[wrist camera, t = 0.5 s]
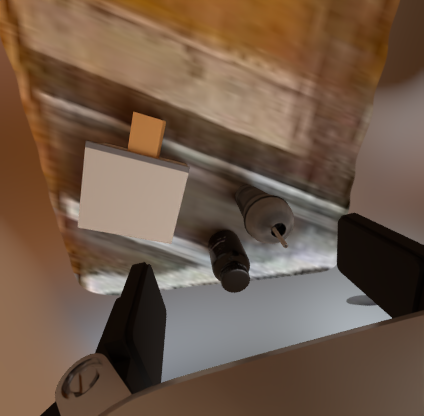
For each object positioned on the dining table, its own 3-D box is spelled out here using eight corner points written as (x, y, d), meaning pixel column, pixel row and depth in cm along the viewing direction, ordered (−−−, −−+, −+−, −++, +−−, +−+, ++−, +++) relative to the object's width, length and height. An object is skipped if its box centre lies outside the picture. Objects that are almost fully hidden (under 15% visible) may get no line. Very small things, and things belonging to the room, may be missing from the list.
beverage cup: (257, 216, 45) (309, 279, 26) (223, 208, 43) (255, 270, 25) (269, 182, 43) (336, 225, 24) (234, 173, 41) (278, 212, 23)
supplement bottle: (212, 226, 44) (223, 259, 33) (243, 233, 46) (263, 267, 35) (203, 254, 46) (210, 294, 35) (233, 260, 48) (248, 300, 37)
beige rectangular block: (97, 208, 40) (77, 227, 32) (106, 137, 36) (85, 140, 28) (173, 222, 43) (171, 243, 35) (188, 159, 39) (189, 167, 31)
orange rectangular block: (129, 185, 38) (120, 194, 33) (141, 114, 35) (133, 111, 29) (152, 190, 39) (147, 200, 34) (166, 121, 36) (163, 120, 30)
